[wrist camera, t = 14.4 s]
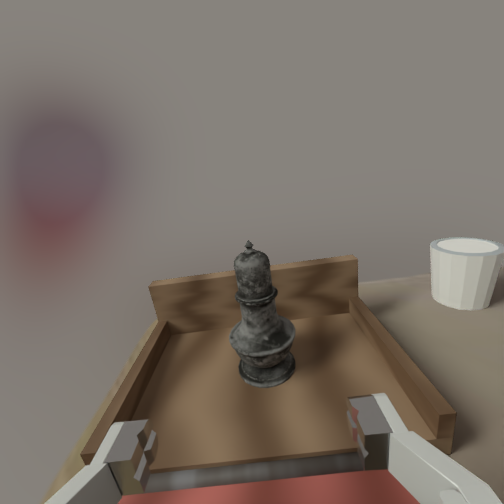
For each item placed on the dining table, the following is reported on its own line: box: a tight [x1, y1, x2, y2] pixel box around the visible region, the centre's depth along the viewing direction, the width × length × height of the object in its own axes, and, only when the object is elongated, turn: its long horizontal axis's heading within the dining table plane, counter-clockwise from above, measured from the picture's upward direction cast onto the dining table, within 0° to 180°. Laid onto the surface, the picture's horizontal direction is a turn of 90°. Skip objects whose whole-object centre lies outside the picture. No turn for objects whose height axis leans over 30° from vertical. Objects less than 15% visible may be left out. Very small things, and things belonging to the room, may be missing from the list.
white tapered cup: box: [430, 237, 504, 310], centre depth 31 cm, size 7×7×7 cm
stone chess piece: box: [229, 241, 295, 388], centre depth 22 cm, size 6×6×12 cm
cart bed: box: [80, 255, 457, 504], centre depth 21 cm, size 23×21×8 cm
